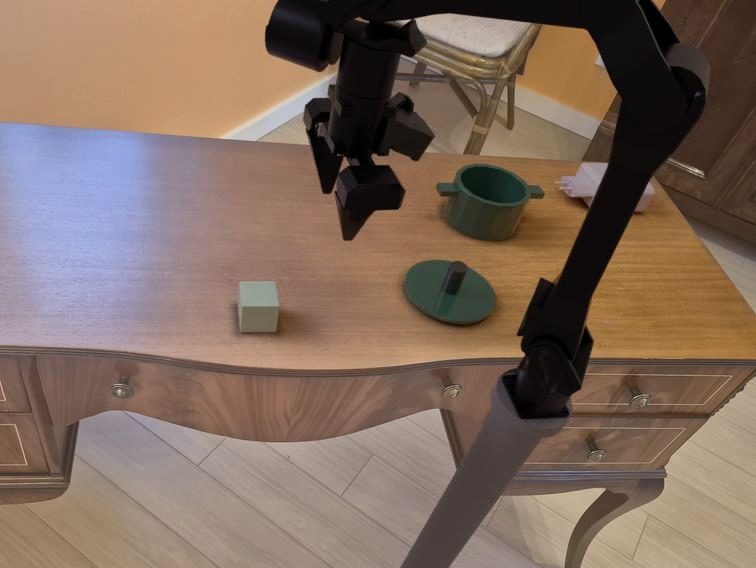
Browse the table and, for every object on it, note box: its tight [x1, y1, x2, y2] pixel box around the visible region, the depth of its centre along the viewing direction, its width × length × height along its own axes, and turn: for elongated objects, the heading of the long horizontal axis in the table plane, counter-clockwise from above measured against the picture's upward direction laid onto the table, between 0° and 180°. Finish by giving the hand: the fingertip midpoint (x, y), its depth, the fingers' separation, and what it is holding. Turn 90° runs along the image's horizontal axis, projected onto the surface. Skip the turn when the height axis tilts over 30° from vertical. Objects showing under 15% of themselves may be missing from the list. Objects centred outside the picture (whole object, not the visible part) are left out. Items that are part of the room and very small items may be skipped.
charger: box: [554, 162, 656, 213], centre depth 105 cm, size 5×9×15 cm
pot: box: [435, 163, 546, 242], centre depth 96 cm, size 12×17×6 cm
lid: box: [403, 259, 497, 325], centre depth 83 cm, size 13×13×5 cm
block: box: [237, 280, 281, 333], centre depth 76 cm, size 4×4×4 cm
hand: (336, 215), depth 73 cm, fingers open, 9 cm apart
